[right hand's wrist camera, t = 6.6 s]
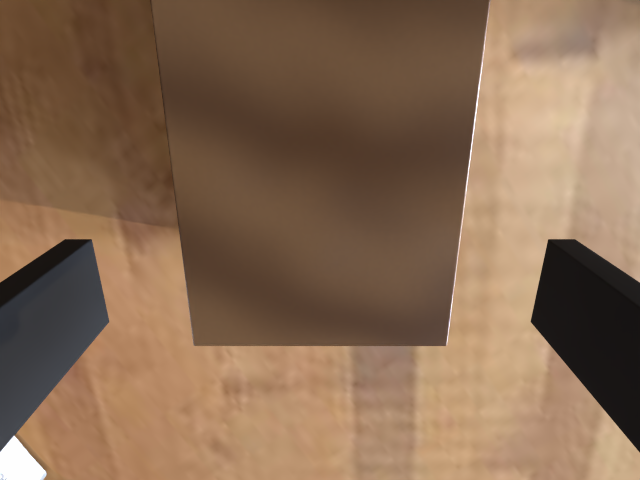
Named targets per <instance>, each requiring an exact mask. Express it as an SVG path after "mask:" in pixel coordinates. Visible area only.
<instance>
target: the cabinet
mask: <svg viewBox="0 0 640 480" xmlns="http://www.w3.org/2000/svg"><path fill="white" fill-rule="evenodd" d="M150 1H151V9H152V17H153V25H154V33H155V41H156V49H157V57H158V65H159V73H160V81H161V89H162V97H163V105H164V113H165V121H166V129H167V136H168V144H169V152H170V160H171V168H172V176H173V184H174V192H175V200H176V208H177V216H178V224H179V232H180V240H181V248H182V256H183V264H184V272H185V280H186V288H187V296H188V304H189V312H190V320H191V328H192V336H193V343H194V346H447V340H448V332H449V324H450V317H451V309H452V301H453V293H454V285H455V277H456V269H457V261H458V253H459V245H460V237H461V229H462V221H463V214H464V206H465V198H466V190H467V182H468V174H469V166H470V158H471V150H472V142H473V134H474V126H475V118H476V111H477V103H478V95H479V87H480V79H481V71H482V63H483V55H484V47H485V39H486V31H487V23H488V15H489V8H490V0H150Z"/></svg>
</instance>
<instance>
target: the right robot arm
mask: <svg viewBox="0 0 640 480" xmlns="http://www.w3.org/2000/svg"><path fill="white" fill-rule="evenodd" d="M108 323H109V318H108V314H107V309H106V304H105V299H104V295H103V290H102V285H101V281H100V276H99V271H98V267H97V262H96V257H95V253H94V248H93V243H92V239H65V240H63V241H62V242H60V243H59V244H57V245H56V246H54V247H53V248H51V249H50V250H48V251H47V252H45V253H44V254H42V255H41V256H39V257H38V258H36V259H35V260H33V261H32V262H30V263H29V264H27V265H26V266H24V267H23V268H22V269H20V270H19V271H17V272H16V273H14V274H13V275H11V276H10V277H8V278H7V279H5V280H4V281H2V282H1V283H0V452H1V451H2V450H3V448H4V447H5V446H6V445H7V444H8V442H9V441H10V440H11V439H12V438H13V436H14V435H15V434H16V433H17V432H18V430H19V429H20V428H21V427H22V426H23V424H24V423H25V422H26V421H27V420H28V418H29V417H30V416H31V415H32V414H33V412H34V411H35V410H36V409H37V408H38V406H39V405H40V404H41V403H42V402H43V400H44V399H45V398H46V397H47V396H48V394H49V393H50V392H51V391H52V390H53V388H54V387H55V386H56V385H57V384H58V382H59V381H60V380H61V379H62V378H63V376H64V375H65V374H66V373H67V372H68V371H69V369H70V368H71V367H72V366H73V365H74V363H75V362H76V361H77V360H78V359H79V357H80V356H81V355H82V354H83V353H84V351H85V350H86V349H87V348H88V347H89V345H90V344H91V343H92V342H93V341H94V339H95V338H96V337H97V336H98V335H99V333H100V332H101V331H102V330H103V329H104V327H105V326H106V325H107V324H108ZM531 323H532V324H533V325H534V326H535V327H536V329H537V330H538V331H539V332H540V333H541V335H542V336H543V337H544V338H545V339H546V341H547V342H548V343H549V344H550V345H551V347H552V348H553V349H554V350H555V351H556V353H557V354H558V355H559V356H560V357H561V359H562V360H563V361H564V362H565V363H566V365H567V366H568V367H569V368H570V369H571V371H572V372H573V373H574V374H575V375H576V376H577V378H578V379H579V380H580V381H581V382H582V384H583V385H584V386H585V387H586V388H587V390H588V391H589V392H590V393H591V394H592V396H593V397H594V398H595V399H596V400H597V402H598V403H599V404H600V405H601V406H602V408H603V409H604V410H605V411H606V412H607V414H608V415H609V416H610V417H611V418H612V420H613V421H614V422H615V423H616V424H617V426H618V427H619V428H620V429H621V430H622V432H623V433H624V434H625V435H626V436H627V438H628V439H629V440H630V441H631V442H632V444H633V445H634V446H635V447H636V448H637V450H638V451H639V452H640V283H639V282H638V281H636V280H635V279H633V278H632V277H630V276H629V275H627V274H626V273H624V272H623V271H621V270H620V269H618V268H617V267H616V266H614V265H613V264H611V263H610V262H608V261H607V260H605V259H604V258H602V257H601V256H599V255H598V254H596V253H595V252H593V251H592V250H590V249H589V248H587V247H586V246H584V245H583V244H581V243H580V242H578V241H577V240H575V239H548V243H547V248H546V253H545V257H544V262H543V267H542V271H541V276H540V281H539V285H538V290H537V295H536V299H535V304H534V309H533V314H532V318H531Z"/></svg>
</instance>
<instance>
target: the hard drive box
mask: <svg viewBox="0 0 640 480" xmlns="http://www.w3.org/2000/svg"><path fill="white" fill-rule="evenodd" d="M46 475H47V474H46V471H45V470H44V469H43V468H42V467H41V466H40V465H39V464H38V463H37V462H36V461H35V459H34V458H33V457H32V456H31V455H30V454H29V453H28V451H27V450H26V449H25V448H24V447H23V445H22V444H21V443H20V442H19V441H18V439H17V438H16V437H15V436H13V438H12V439H11V440H10V441H9V442H8V444H7V445H6V446H5V447H4V448H3V450H2V451H1V452H0V480H43V479H44V478H45V477H46Z"/></svg>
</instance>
